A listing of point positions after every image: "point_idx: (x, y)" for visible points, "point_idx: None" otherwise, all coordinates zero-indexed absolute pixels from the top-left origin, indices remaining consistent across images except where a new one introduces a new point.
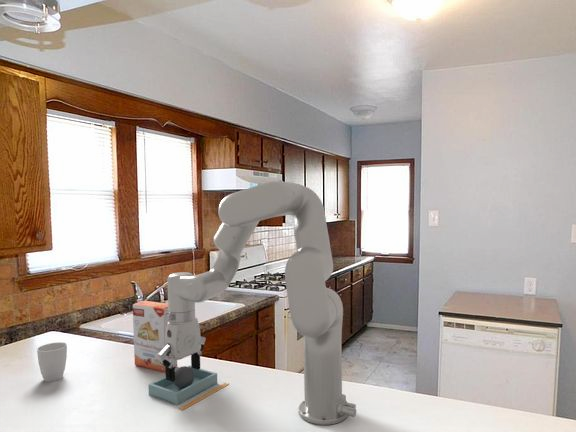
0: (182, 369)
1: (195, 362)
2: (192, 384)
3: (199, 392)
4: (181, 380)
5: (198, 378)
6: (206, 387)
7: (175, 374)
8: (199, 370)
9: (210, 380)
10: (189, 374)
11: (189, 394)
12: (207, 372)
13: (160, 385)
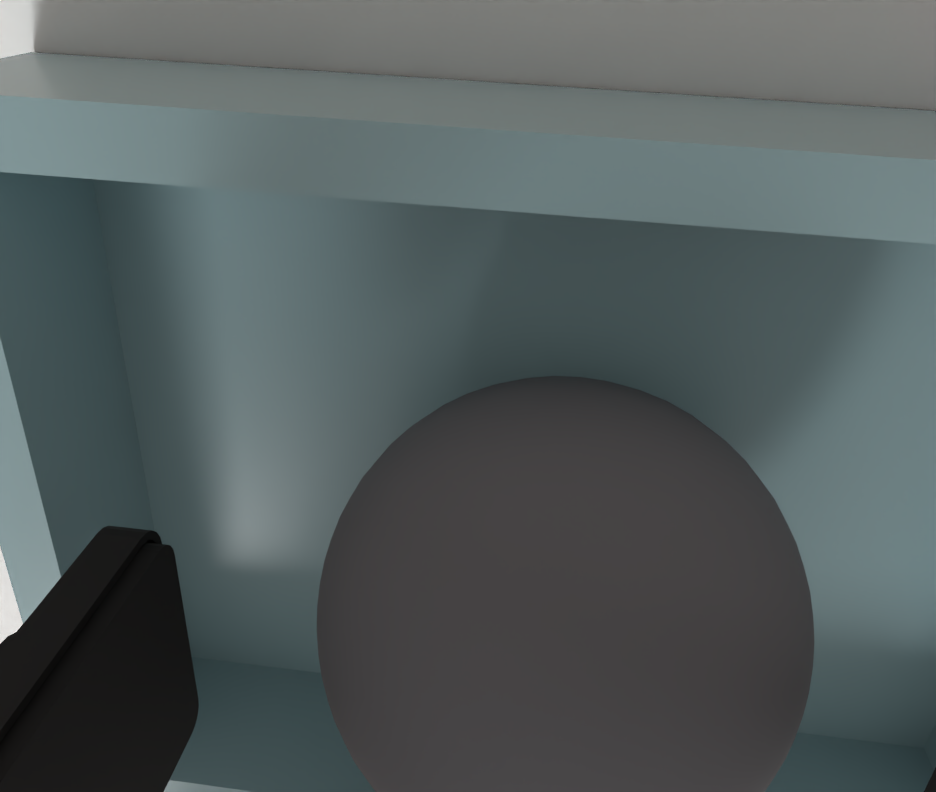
0: (662, 784)
1: (101, 747)
2: (751, 223)
3: (570, 91)
4: (789, 545)
5: (164, 482)
6: (349, 79)
7: (770, 782)
8: (68, 564)
9: (174, 85)
10: (601, 518)
11: (902, 124)
12: (11, 360)
13: (782, 781)
